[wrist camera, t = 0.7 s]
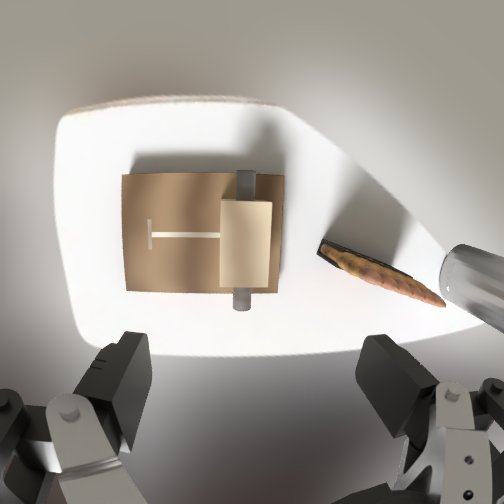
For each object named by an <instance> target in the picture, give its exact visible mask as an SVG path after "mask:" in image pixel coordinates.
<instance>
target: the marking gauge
mask: <svg viewBox="0 0 504 504" xmlns="http://www.w3.org/2000/svg"><path fill="white" fill-rule="evenodd" d="M255 182H256V171H253V170H236V198H235V199H221V213H220V287H233V309H235V310H237V311H248V310H250V308H251V287H268V277H269V259H270V239H271V219H272V202H269V201H265V200H255Z"/></svg>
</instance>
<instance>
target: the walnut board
mask: <svg viewBox="0 0 504 504" xmlns="http://www.w3.org/2000/svg"><path fill="white" fill-rule="evenodd" d="M283 189H284V175H267V174H256V182H255V200H265V201H269V202H272V219H271V239H270V259H269V277H268V287H251V293H278V279H279V264H280V248H281V230H282V211H283ZM235 198H236V173H147V174H127V175H122V239H123V256H124V269H125V280H126V289H127V291H140V292H168V293H233V287H220V213H221V199H235Z"/></svg>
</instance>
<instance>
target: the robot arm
mask: <svg viewBox="0 0 504 504" xmlns="http://www.w3.org/2000/svg"><path fill="white" fill-rule="evenodd" d="M440 291H441V294H442V296H443V297H444V298H445V299H447V300H448V301H450V302H452V303H454V304H455V305H457V306H459V307H461V308H462V309H464V310H465V311H467V312H469V313H471V314H472V315H474V316H476V317H477V318H479V319H481V320H482V321H484V322H486V323H487V324H489V325H491V326H492V327H494V328H495V329H497V330H499V331H500V332H502V333H503V334H504V257H501V256H498V255H495V254H492V253H489V252H486V251H484V250H481V249H478V248H475V247H471V246H468V245H465V244H460V245H457V246H456V247H454V248H453V249H452V250H451V252H450V253H449V254H448V256H447V257H446V259H445V261H444V264H443V266H442V270H441V274H440ZM355 375H356V381H357V383H358V385H359V386H360V388H361V389H362V391H363V392H364V394H365V395H366V397H367V398H368V400H369V401H370V403H371V404H372V406H373V408H374V409H375V410H376V412H377V413H378V415H379V417H380V418H381V419H382V421H383V423H384V424H385V426H386V427H387V429H388V430H389V432H390V433H391V435H392V437H393V438H397V437H400V436H403V435H407V436H408V438H407V440H406V441H405V444H404V448H403V453H402V458H401V463H400V467H399V471H398V475H397V479H396V482H395V484H394V486H393V488H392V489H391V490H390V488H389V486H388V484H387V483H384V484H381V485H378V486H375V487H372V488H369V489H366V490H362V491H359V492H356V493H352V494H350V495H348V496H346V497H344V498H342V499H340V500H338V501H336V502H334V503H332V504H504V451H503V452H502V453H501V454H500V452H499V451H498V450H497V449H496V447H495V446H494V445H493V444H492V443H491V441H490V440H489V437H488V433H487V430H488V429H489V427H490V426H491V424H492V423H493V421H494V420H495V421H496V422H497V423H498V424H499V425H500V427H502V429H503V430H504V382H503V381H501V380H499V379H495V378H488V379H486V380H484V382H483V384H482V386H481V387H480V389H479V391H474V392H468V390H467V389H466V388H465V387H463V386H462V385H460V384H458V383H456V382H451V381H445V382H441V383H440V382H439V381H438V380H437V379H436V378H435V377H434V376H433V375H432V374H431V373H430V372H428V370H427V369H426V368H424V366H423V365H420V363H419V362H418V361H417V360H416V359H414V357H413V356H412V355H411V354H410V353H409V352H408V351H407V350H405V349H403V348H401V347H400V346H398V345H397V344H396V343H395V342H394V341H393V340H392V339H391V338H390V337H388V336H387V335H386V334H381V335H370V336H367V337H366V338H365V340H364V343H363V347H362V350H361V354H360V358H359V360H358V364H357V367H356V373H355ZM151 381H152V367H151V360H150V352H149V343H148V337H147V334H145V333H136V332H128V331H126V332H124V334H123V335H122V337H121V339H120V340H119V342H118V343H117V344H115V343H110V344H109V345H107V346H106V347H104V348H103V349H101V350H100V352H99V353H98V355H97V356H96V358H95V361H93V362H92V364H91V365H90V368H88V370H87V371H86V373H85V375H84V376H83V377H82V379H81V381H80V382H79V384H78V385H77V387H76V388H75V390H74V392H73V393H72V394H63V395H60V396H57V397H56V398H54V399H53V400H51V401H50V402H49V404H48V405H47V407H43V406H31V405H25V404H24V403H23V400H22V398H21V397H20V395H19V394H18V393H17V392H16V391H13V390H11V389H0V504H46V502H47V499H48V496H49V492H50V489H51V486H52V483H53V480H54V477H55V474H56V472H57V473H59V474H58V479H59V483H60V486H61V489H62V491H63V494H64V496H65V498H66V501H67V503H68V504H147V502H146V501H145V499H144V498H143V496H142V495H141V493H140V492H139V491H138V489H137V488H136V486H135V485H134V483H133V482H132V480H131V478H130V477H129V475H128V473H127V472H126V470H125V469H124V467H123V465H122V463H121V462H120V460H119V459H118V458H117V457H118V453H119V451H122V452H127V453H131V451H132V447H133V443H134V440H135V436H136V432H137V429H138V425H139V422H140V419H141V416H142V412H143V409H144V406H145V402H146V399H147V396H148V393H149V390H150V386H151ZM12 452H14V453H15V456H14V458H13V460H12V462H11V464H10V467H9V469H8V471H7V473H6V476H5V478H4V480H3V473H4V470H5V468H6V465H7V463H8V461H9V459H10V457H11V455H12Z"/></svg>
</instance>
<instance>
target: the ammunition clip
mask: <svg viewBox="0 0 504 504" xmlns="http://www.w3.org/2000/svg"><path fill="white" fill-rule="evenodd" d="M317 255H318V256H320V257H322V258H323V259H325V260H326V261H328V262H329V263H331V264H332V265H334V266H335V267H337V268H340V269H343V270H345V271H347V272H348V273H350V274H351V275H353V276H356V277H359V278H361V279H363V280H365V281H366V282H368V283H371V284H374V285H379V286H381V287H383V288H385V289H388V290H392V291H395V292H397V293H400V294H403V295H407V296H409V297H411V298H414V299H417V300H420V301H423V302H425V303H429V304H432V305H434V306H437V307H446V304H445V302H444V301H443V300H442V298H441V297H439V296H438V295H437V294H436V293H434V292H432V291H431V290H430V289H428V288H427V287H425V286H424V285H423V284H422V283H420V282H418V281H416V280H414V279H413V277H411V276H409V275H408V274H406V273H404V272H402V271H400V270H398V269H396V268H394V267H392V266H390V265H387V264H385V263H382V262H380V261H377V260H375V259H373V258H370V257H368V256H365V255H363V254H360V253H358V252H355V251H352V250H350V249H347V248H345V247H342V246H340V245H337V244H335V243H332V242H329V241H327V240H324V239H322V241H321V244H320V246H319V249H318V252H317Z"/></svg>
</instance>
